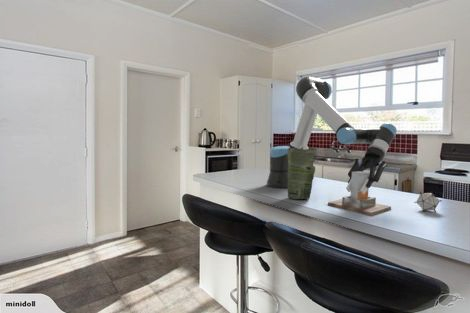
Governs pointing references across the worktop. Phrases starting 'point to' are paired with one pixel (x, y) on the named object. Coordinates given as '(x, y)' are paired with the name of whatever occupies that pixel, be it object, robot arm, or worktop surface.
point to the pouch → (300, 172)
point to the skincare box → (358, 185)
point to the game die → (427, 201)
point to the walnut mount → (360, 205)
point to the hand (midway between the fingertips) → (354, 191)
